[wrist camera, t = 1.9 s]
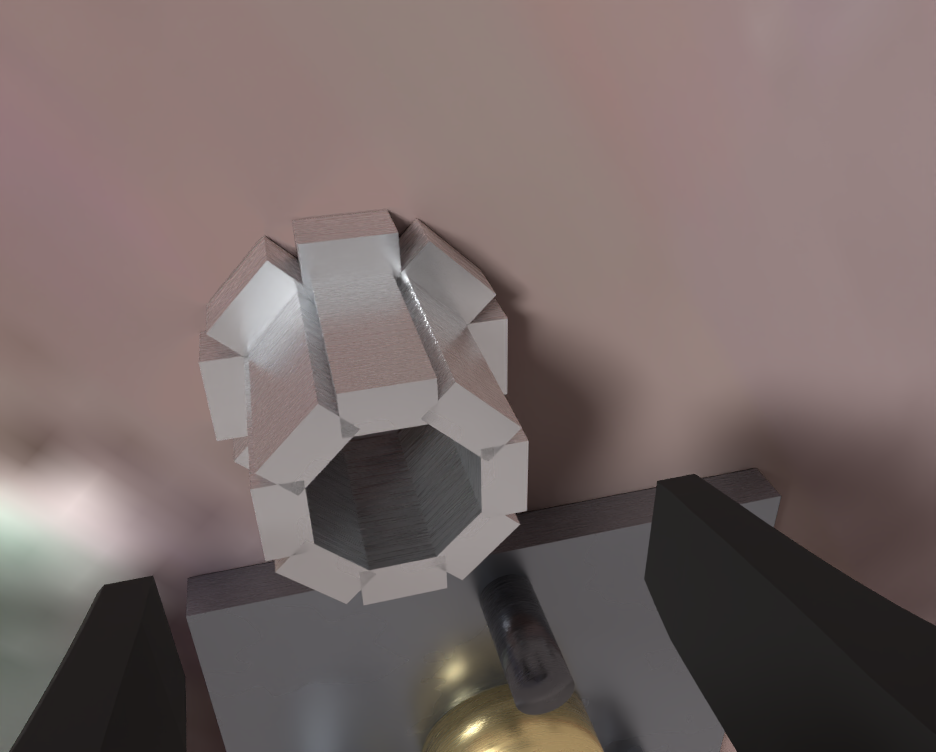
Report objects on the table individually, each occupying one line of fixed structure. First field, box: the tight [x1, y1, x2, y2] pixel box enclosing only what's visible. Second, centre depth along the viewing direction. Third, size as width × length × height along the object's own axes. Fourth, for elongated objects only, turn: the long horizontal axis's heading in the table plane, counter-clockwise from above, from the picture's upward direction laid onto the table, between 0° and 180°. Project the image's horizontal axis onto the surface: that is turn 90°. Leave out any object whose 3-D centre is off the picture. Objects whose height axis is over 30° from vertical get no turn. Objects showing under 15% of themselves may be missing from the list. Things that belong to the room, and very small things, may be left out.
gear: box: [199, 210, 529, 605], centre depth 15 cm, size 6×6×5 cm
